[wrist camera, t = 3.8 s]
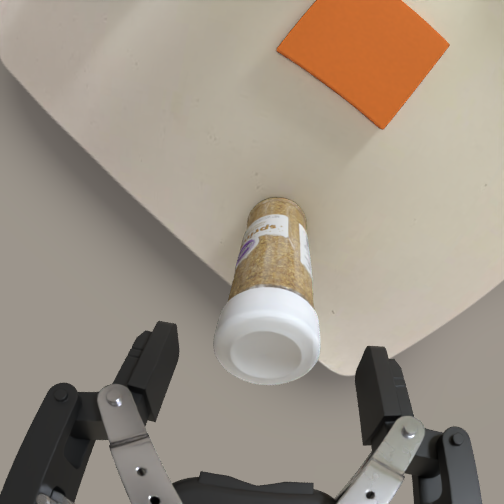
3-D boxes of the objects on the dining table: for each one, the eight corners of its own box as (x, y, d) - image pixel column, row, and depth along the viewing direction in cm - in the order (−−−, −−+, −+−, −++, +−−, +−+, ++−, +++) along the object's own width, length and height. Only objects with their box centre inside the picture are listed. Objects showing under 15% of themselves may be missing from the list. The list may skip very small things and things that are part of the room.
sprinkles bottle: (259, 187, 23) (229, 298, 11) (316, 209, 24) (341, 335, 12) (239, 239, 25) (200, 371, 14) (293, 258, 26) (293, 398, 14)
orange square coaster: (276, 51, 18) (275, 49, 18) (348, -34, 14) (349, -37, 14) (380, 128, 20) (383, 130, 19) (445, 45, 16) (450, 44, 15)
